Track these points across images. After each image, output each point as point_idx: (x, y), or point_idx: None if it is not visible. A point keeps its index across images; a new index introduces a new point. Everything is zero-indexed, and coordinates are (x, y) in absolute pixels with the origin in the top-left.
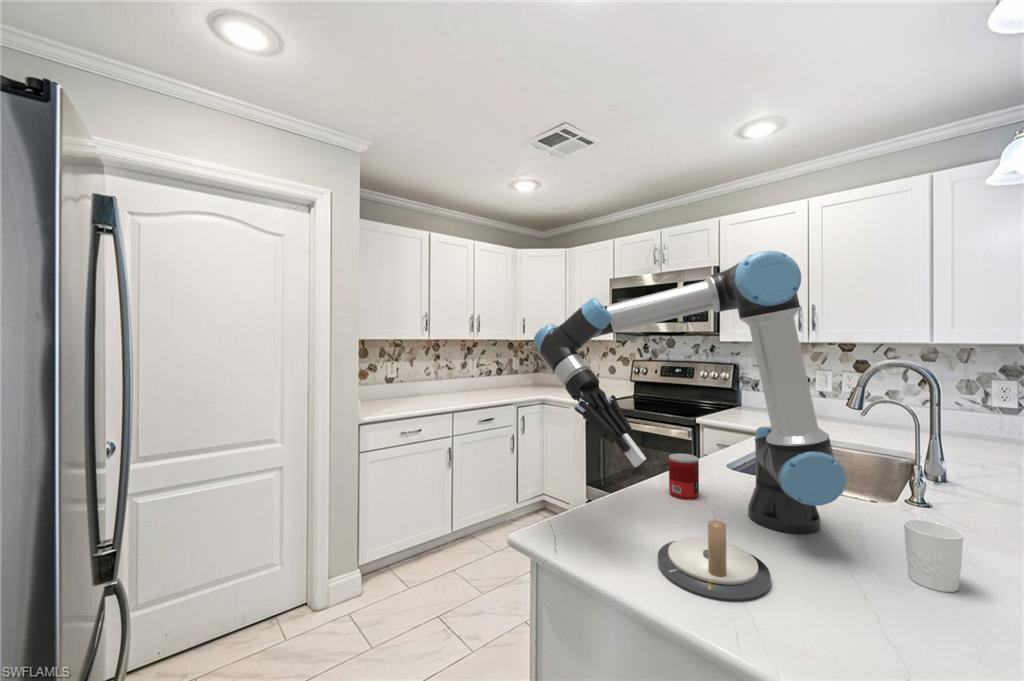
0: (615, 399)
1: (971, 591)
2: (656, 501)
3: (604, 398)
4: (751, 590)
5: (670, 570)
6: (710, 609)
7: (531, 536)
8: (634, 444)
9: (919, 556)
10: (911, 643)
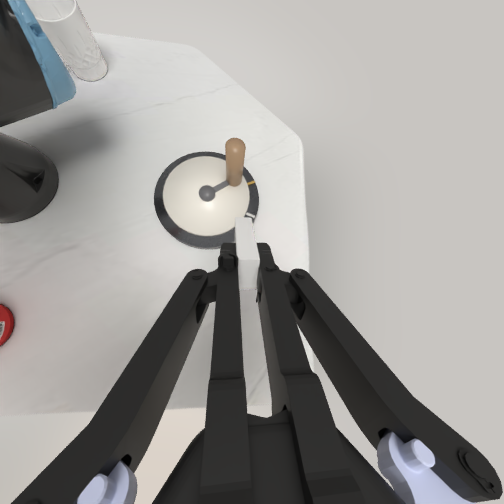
0: (52, 476)
1: None
2: (55, 343)
3: (222, 481)
4: None
5: (252, 217)
6: (267, 180)
7: None
8: (240, 237)
9: (90, 45)
10: (204, 82)
